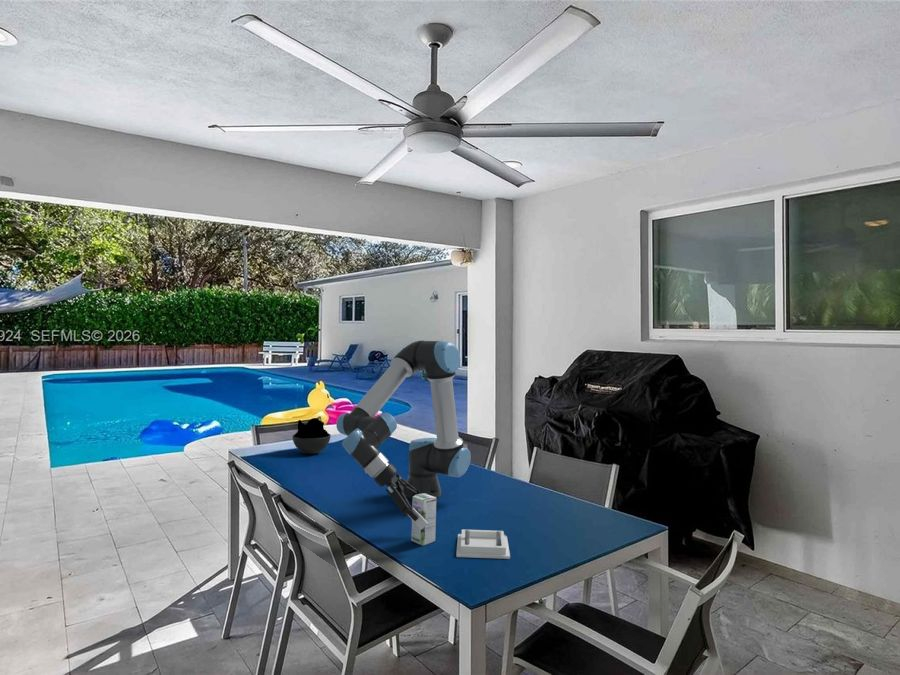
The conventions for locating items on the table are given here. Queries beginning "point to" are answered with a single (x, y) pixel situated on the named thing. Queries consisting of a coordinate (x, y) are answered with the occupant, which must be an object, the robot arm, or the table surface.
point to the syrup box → (428, 511)
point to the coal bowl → (311, 436)
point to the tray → (483, 544)
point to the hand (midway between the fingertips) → (426, 518)
